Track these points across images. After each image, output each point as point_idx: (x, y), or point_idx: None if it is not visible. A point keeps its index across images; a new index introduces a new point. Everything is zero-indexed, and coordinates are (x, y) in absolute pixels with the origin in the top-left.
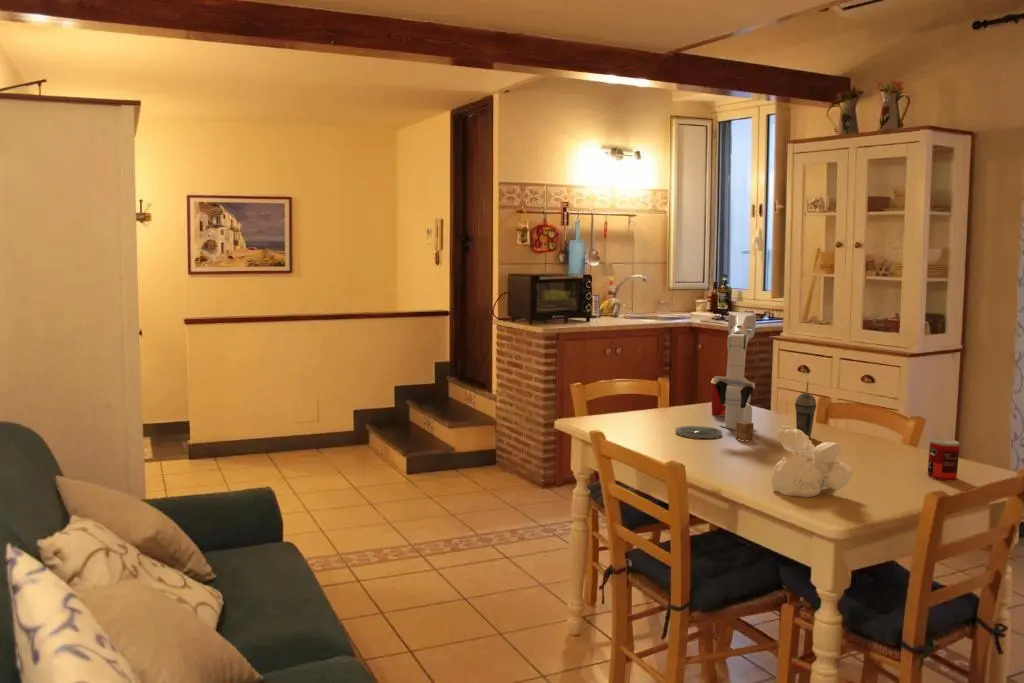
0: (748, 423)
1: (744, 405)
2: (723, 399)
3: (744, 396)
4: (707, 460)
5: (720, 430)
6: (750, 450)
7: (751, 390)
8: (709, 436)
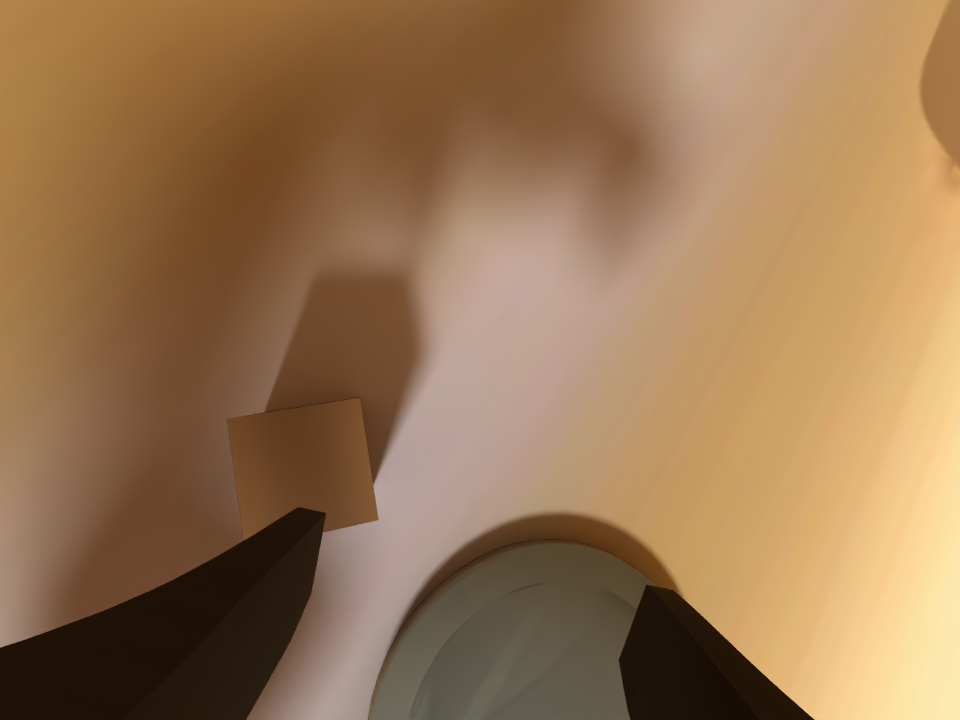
0: (293, 427)
1: (306, 515)
2: (708, 622)
3: (214, 674)
4: (825, 105)
5: (375, 707)
6: (491, 169)
7: None
8: (565, 545)
